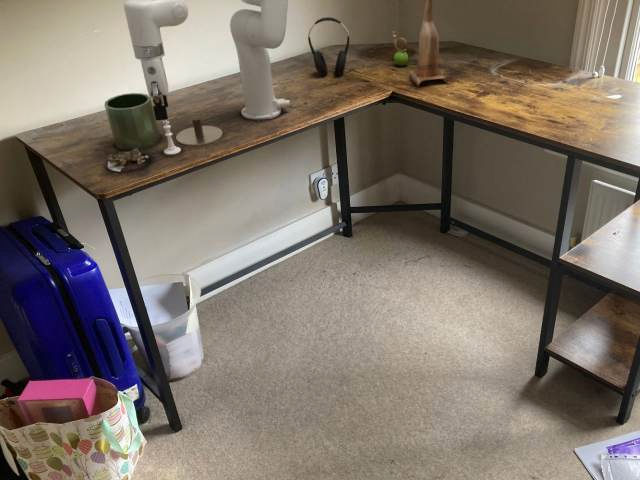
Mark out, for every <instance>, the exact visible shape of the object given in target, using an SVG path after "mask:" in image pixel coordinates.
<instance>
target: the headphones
mask: <svg viewBox="0 0 640 480" xmlns="http://www.w3.org/2000/svg"><path fill="white" fill-rule="evenodd" d="M322 22H335V23H337V24H340V25H341V27H343V28H344V29H345V31H346V33H347V38H346V45H345V48H344V50H339V51H338V54H337V58H336V62H335V66H334V74H335V75H338V76H340V75H343V73H344V72H345V70H346V66H347V63H348V50H349V47H350V46H349V45H350V33H349V30H348V29H347V27H346V26H345V25H344V24H343V23H342V22H341V20H339V19H337V18H335V17H329V16H328V17H322V18H320V19H317V20H316V21H315V22H314V23H313V25H312V26H311V27H310V29H309V31H308V34H307V39H308V41H307V42H308V45H309V48H310V51H311V53H312V62H313V65H314V68H315V70H316V72H317V73H318V75H320V76H326V75H327V74H328V66H327V62H326V59H325V57H324V55H323V53H322V51H320V50H317V51H316V50H315V48H314V46H313V43H312V41H311V37H310V36H311V32H312V30H313V28H314V26H316V25H318V24H319V23H322Z"/></svg>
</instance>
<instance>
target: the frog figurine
mask: <svg viewBox="0 0 640 480" xmlns="http://www.w3.org/2000/svg"><path fill="white" fill-rule="evenodd" d="M141 154H142V152H140V151H139V148H135V149H131V151H119V152H117V153H115V154H112V153H110V154H109V156H108V157H107V161H108V162H107V169H108V170H110V171H113V172H117V173H119V172H121V171H122V169H124V168H126V166H125V165H126V164H130V163H133V162H136V164H138V165H140V164H142V163H144V162H146V160H145V159H144V158H146V159H149V155H148V154H145V156H142V155H141ZM143 159H144V160H143Z"/></svg>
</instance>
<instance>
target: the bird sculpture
mask: <svg viewBox="0 0 640 480" xmlns="http://www.w3.org/2000/svg"><path fill="white" fill-rule="evenodd" d="M425 1H426V2H425V6H424V11H423V19H422V24H421V28H420V34H419V41H418V62H417V63H418V64H417V68H416V69H410V70H409V72H408V77H409V78H410V79H411V80H412V81H413V83H415V85H416V86H417V87H420V84H421V83H423V82H424V81H430V80H443V81H444V82H445V83H446V84H449V83H448V82H449V80H448V78H447V77H446V76H445V75H444V74H443V73H442V72H441V71H440V70H439V56H440V55H439V54H440V53H439V52H440V37H439V33H438V29H437V28H436V25H435V23H434V16H433V0H425Z"/></svg>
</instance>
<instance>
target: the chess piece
mask: <svg viewBox="0 0 640 480" xmlns="http://www.w3.org/2000/svg"><path fill="white" fill-rule="evenodd" d="M162 124H164V125H163V127H162V128H163V129H164V131H165V133H164V136H165V137H166V138H167V148H165V149H164V150H163V153H164V154H165V155H176V154H179V153H181V150H182V148H181V147H179V146H176V145H175V144H174V141H173V138H172V136H173V132H171V124H170V121H169V120H168V119H167V120H162Z"/></svg>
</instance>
